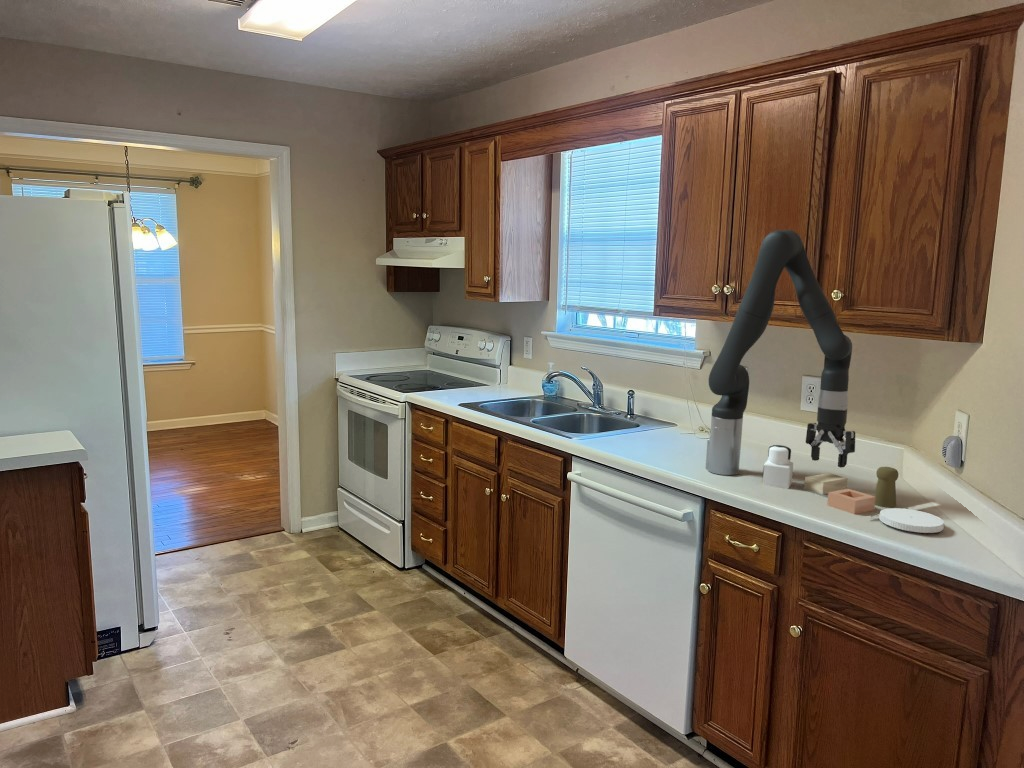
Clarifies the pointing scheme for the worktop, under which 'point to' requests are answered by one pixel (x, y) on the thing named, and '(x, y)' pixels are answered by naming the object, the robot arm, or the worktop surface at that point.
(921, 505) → the worktop surface
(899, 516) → the plastic lid
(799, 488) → the mat
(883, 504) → the cork
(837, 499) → the pink hollow block
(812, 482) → the cream wooden block
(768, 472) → the medicine bottle
